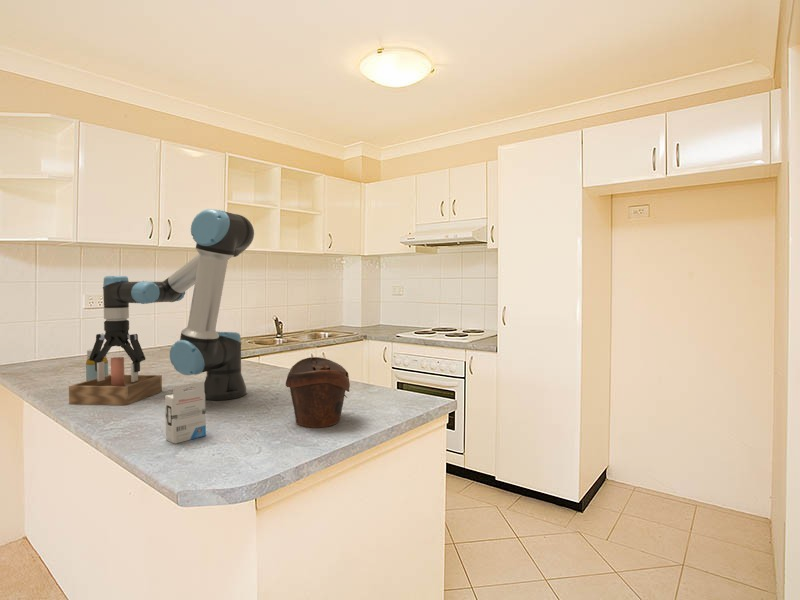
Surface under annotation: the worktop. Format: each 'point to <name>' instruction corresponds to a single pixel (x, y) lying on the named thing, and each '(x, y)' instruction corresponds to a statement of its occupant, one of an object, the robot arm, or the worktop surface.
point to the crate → (114, 390)
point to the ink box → (185, 413)
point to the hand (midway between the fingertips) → (117, 380)
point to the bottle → (91, 367)
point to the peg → (117, 371)
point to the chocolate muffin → (317, 391)
